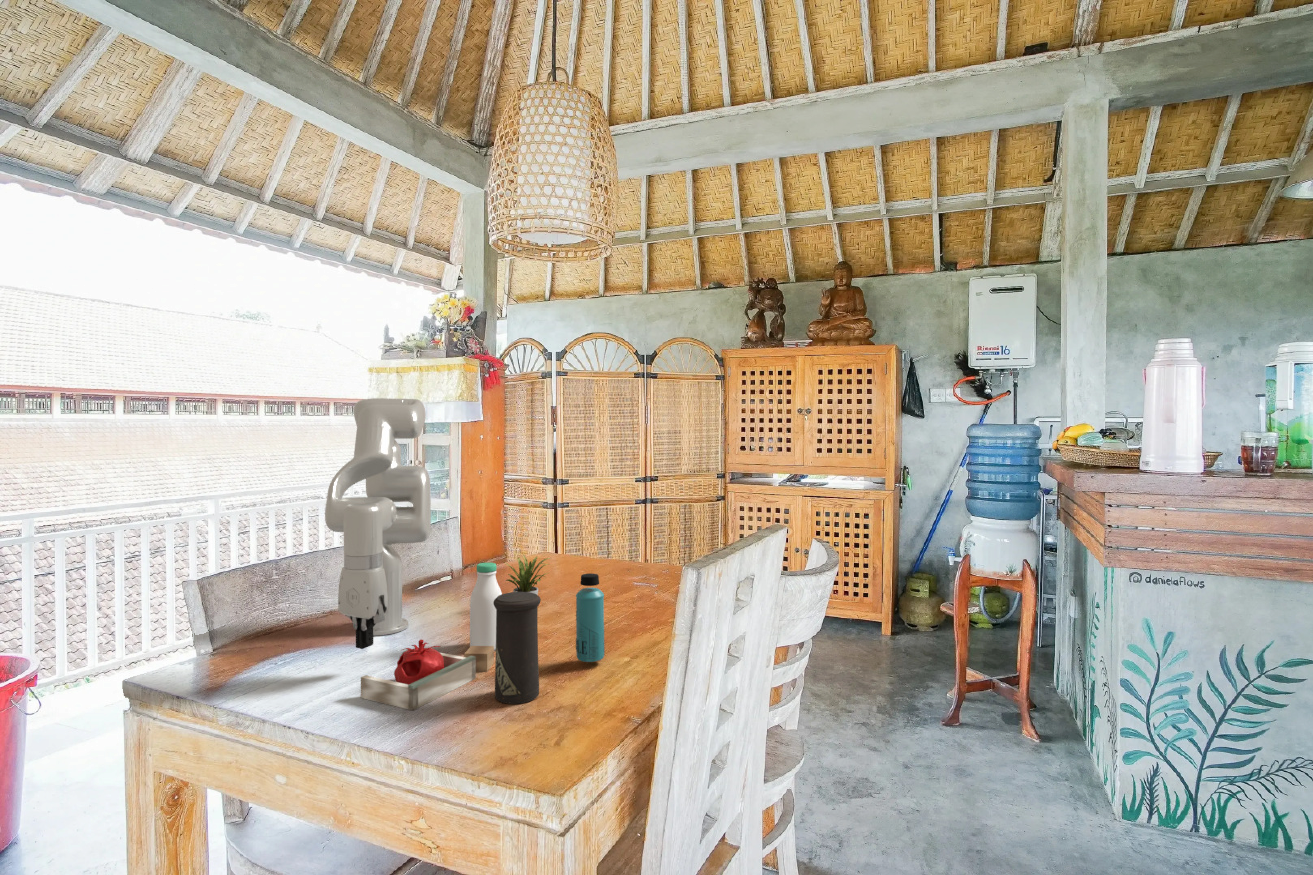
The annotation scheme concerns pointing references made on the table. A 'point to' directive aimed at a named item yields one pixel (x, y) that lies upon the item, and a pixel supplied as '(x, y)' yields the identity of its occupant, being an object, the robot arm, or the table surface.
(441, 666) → the pomegranate
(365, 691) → the display stand
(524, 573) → the house plant
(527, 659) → the container
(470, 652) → the teak block
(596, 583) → the beverage bottle
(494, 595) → the milk bottle
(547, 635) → the table surface
